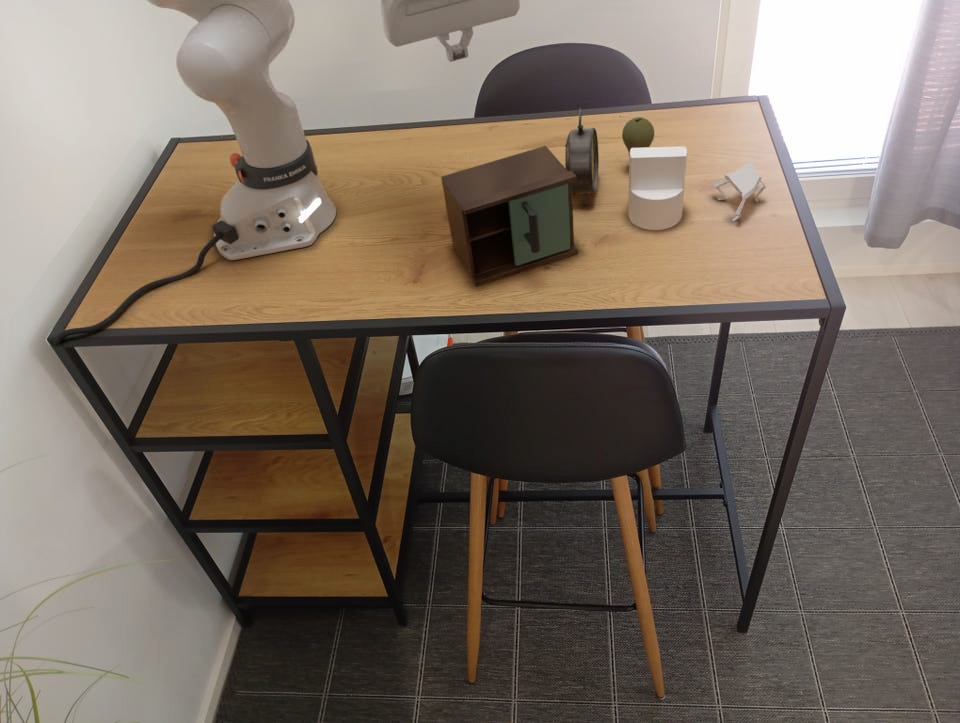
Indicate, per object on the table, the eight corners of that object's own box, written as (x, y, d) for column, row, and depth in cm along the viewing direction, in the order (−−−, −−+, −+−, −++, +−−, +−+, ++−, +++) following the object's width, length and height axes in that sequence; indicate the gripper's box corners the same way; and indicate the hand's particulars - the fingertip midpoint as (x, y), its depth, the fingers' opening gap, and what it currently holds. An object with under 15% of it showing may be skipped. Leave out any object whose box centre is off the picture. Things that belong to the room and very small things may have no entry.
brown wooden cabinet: (476, 287, 127) (464, 210, 116) (453, 247, 135) (440, 172, 124) (578, 254, 130) (576, 176, 119) (550, 217, 138) (545, 141, 127)
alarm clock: (594, 210, 138) (593, 126, 126) (563, 210, 139) (559, 126, 127) (600, 176, 145) (599, 93, 134) (570, 175, 146) (567, 93, 135)
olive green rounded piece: (645, 180, 143) (647, 129, 135) (616, 173, 145) (617, 124, 138) (657, 164, 146) (660, 114, 139) (629, 158, 148) (630, 109, 141)
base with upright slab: (628, 230, 133) (629, 168, 124) (628, 199, 139) (629, 138, 130) (683, 229, 131) (688, 166, 123) (681, 198, 137) (686, 136, 129)
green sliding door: (526, 281, 125) (520, 215, 116) (514, 263, 128) (507, 198, 119) (581, 263, 126) (579, 197, 117) (568, 246, 130) (565, 181, 121)
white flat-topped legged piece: (708, 186, 139) (711, 162, 135) (758, 184, 138) (762, 159, 134) (718, 227, 130) (721, 202, 127) (770, 225, 129) (775, 199, 126)
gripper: (506, -62, 114) (513, 33, 123) (369, -29, 110) (389, 67, 120) (522, -50, 109) (529, 48, 119) (381, -14, 106) (400, 83, 116)
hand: (457, 58), depth 120 cm, fingers closed
